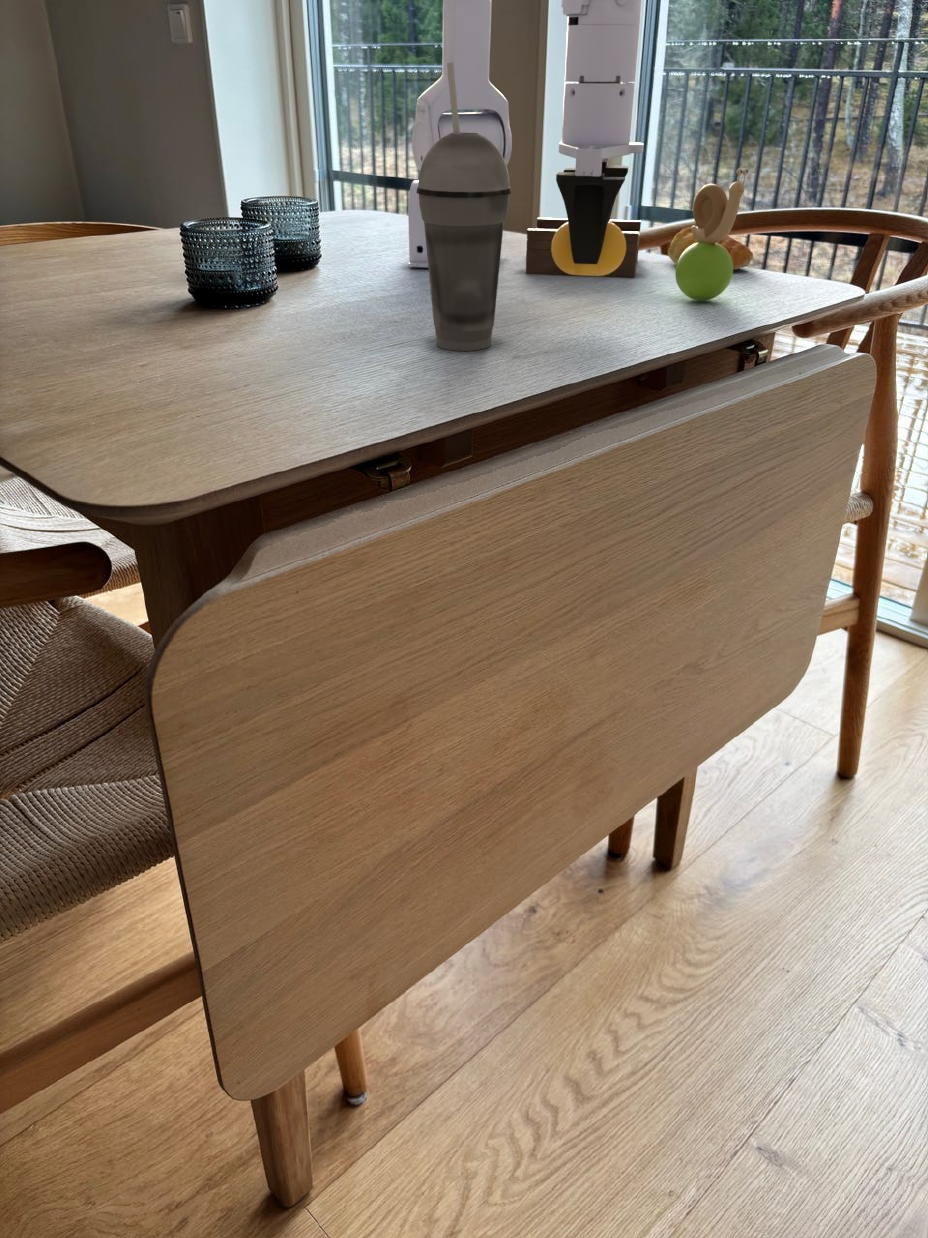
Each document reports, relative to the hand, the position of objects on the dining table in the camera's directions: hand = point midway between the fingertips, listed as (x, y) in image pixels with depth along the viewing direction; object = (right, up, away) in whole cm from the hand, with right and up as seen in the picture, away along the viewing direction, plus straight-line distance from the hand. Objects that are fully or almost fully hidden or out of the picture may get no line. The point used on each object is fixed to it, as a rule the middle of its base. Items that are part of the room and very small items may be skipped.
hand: (587, 258), depth 84 cm
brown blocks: (+3, +8, +24) cm, 25 cm away
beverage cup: (-11, -10, -6) cm, 16 cm away
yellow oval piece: (0, -1, +1) cm, 1 cm away
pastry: (+17, +9, +25) cm, 32 cm away
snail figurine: (+13, -1, +8) cm, 15 cm away
